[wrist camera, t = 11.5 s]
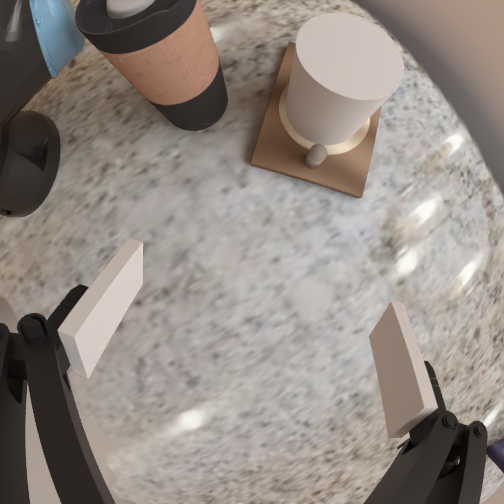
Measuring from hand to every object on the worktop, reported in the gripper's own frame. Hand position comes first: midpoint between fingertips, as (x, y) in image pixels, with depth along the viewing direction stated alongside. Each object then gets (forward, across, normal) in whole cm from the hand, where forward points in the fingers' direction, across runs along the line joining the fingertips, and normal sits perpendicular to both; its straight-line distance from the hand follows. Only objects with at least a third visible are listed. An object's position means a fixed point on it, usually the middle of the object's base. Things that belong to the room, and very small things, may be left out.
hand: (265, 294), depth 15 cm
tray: (+23, +3, +8) cm, 24 cm away
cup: (+21, +3, +8) cm, 23 cm away
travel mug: (+23, -11, +6) cm, 26 cm away
